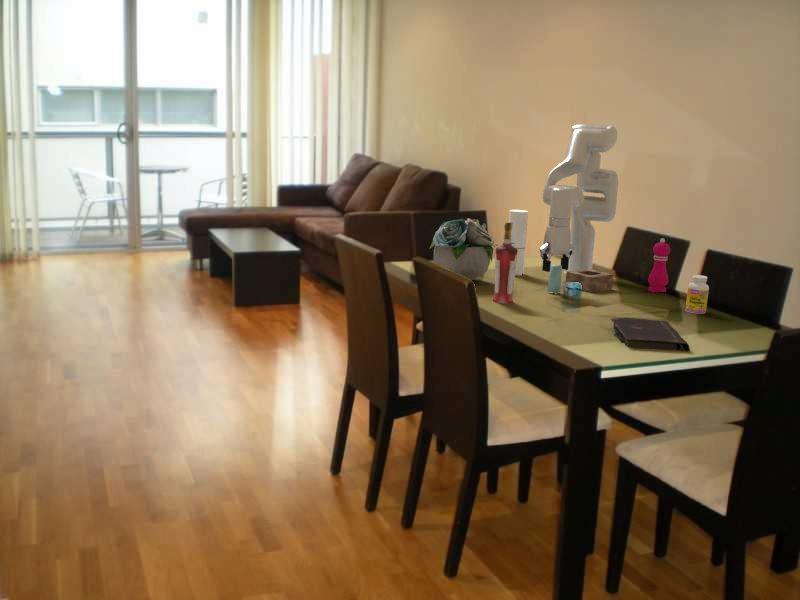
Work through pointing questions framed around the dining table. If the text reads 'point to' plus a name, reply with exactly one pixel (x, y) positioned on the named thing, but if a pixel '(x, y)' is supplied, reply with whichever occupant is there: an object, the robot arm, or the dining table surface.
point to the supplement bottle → (697, 295)
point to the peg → (554, 278)
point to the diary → (648, 334)
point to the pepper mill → (659, 268)
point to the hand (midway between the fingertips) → (555, 270)
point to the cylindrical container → (519, 236)
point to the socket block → (591, 279)
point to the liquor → (505, 268)
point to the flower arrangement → (463, 247)
